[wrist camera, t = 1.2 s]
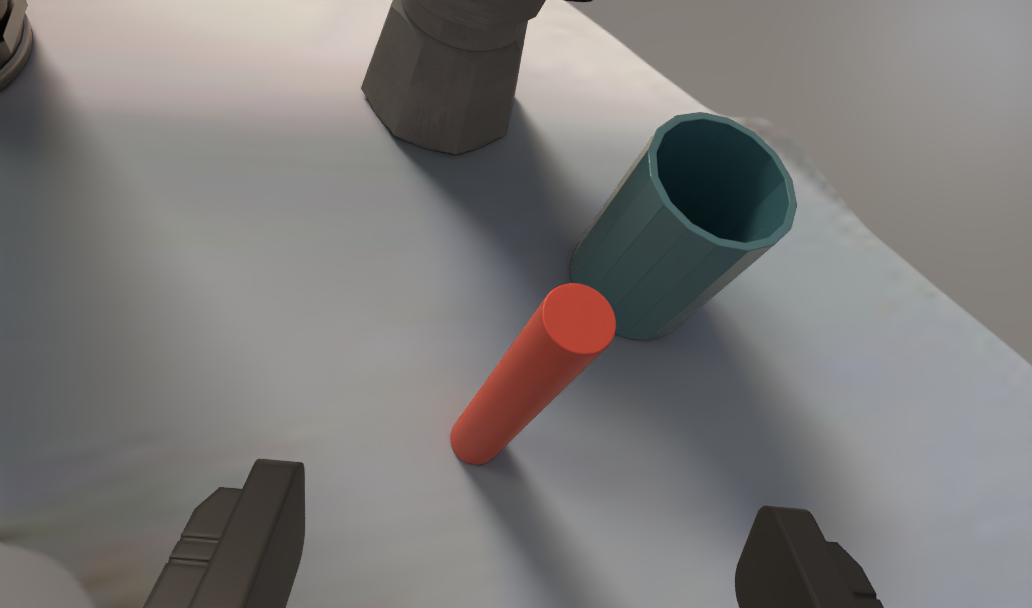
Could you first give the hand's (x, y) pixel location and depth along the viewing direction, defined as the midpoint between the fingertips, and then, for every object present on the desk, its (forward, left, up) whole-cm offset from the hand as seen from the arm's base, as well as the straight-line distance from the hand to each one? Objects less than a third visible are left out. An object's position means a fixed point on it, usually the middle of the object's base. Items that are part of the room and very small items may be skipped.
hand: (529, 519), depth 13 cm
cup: (-4, +20, -20) cm, 29 cm away
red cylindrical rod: (-3, +7, -20) cm, 21 cm away
